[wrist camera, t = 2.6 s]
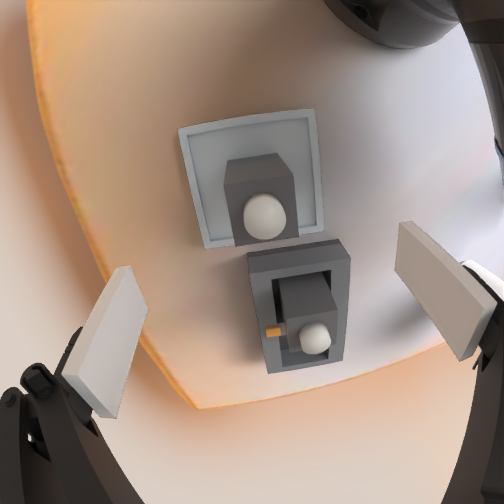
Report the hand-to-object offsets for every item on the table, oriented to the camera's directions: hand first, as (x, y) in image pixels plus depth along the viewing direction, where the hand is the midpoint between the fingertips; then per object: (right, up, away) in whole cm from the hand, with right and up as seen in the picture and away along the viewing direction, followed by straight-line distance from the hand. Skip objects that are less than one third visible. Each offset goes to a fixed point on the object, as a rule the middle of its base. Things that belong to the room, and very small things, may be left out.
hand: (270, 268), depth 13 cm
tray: (-1, +8, +14) cm, 16 cm away
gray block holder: (+5, -6, +21) cm, 23 cm away
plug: (-1, +7, +13) cm, 15 cm away
